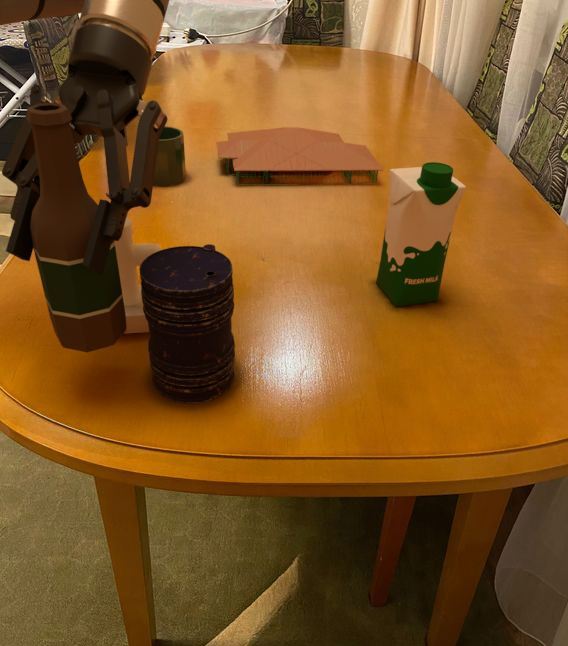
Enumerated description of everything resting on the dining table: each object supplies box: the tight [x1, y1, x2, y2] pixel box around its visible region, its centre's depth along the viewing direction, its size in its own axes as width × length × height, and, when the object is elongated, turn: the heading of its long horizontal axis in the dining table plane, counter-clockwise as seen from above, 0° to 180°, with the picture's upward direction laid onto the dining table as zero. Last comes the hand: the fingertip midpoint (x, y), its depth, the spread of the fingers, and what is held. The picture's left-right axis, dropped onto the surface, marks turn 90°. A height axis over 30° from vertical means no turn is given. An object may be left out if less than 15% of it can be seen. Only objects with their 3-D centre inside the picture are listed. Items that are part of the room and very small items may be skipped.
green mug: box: [153, 125, 187, 188], centre depth 120 cm, size 12×9×9 cm
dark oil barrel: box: [138, 243, 236, 404], centre depth 67 cm, size 10×10×18 cm
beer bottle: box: [26, 102, 127, 353], centre depth 59 cm, size 8×8×24 cm
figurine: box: [114, 215, 163, 335], centre depth 76 cm, size 7×9×15 cm
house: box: [215, 126, 384, 186], centre depth 129 cm, size 23×33×8 cm
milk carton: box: [375, 161, 467, 308], centre depth 86 cm, size 9×9×20 cm
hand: (54, 262), depth 58 cm, fingers closed on beer bottle, 7 cm apart
